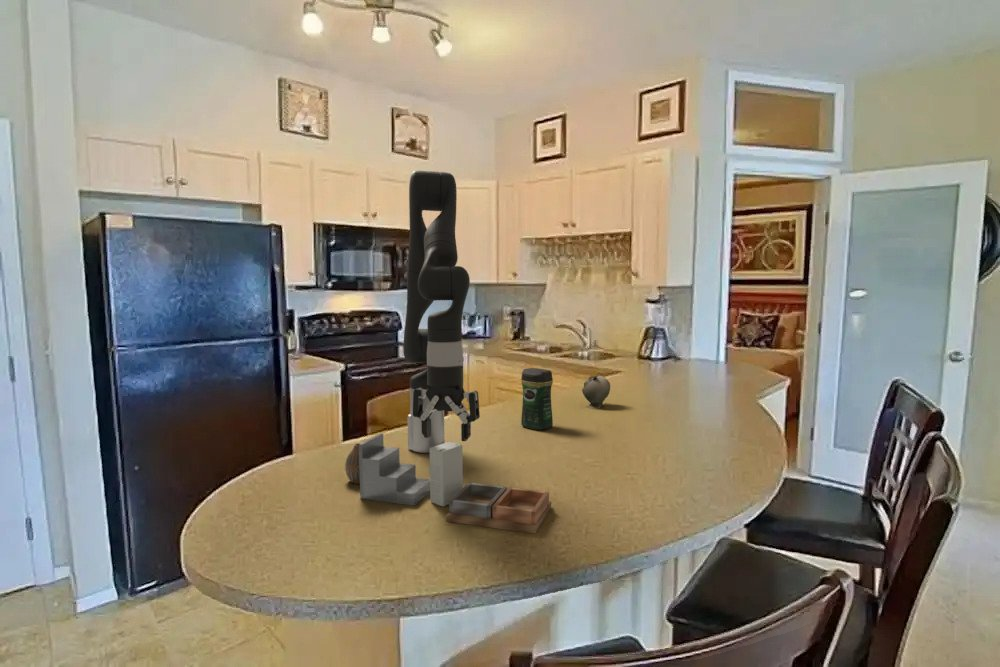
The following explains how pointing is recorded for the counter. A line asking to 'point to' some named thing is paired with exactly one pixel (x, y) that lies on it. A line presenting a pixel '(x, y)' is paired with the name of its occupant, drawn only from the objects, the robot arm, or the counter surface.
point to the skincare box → (445, 472)
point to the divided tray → (499, 507)
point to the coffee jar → (536, 399)
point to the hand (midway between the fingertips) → (446, 438)
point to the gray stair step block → (388, 475)
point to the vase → (353, 465)
